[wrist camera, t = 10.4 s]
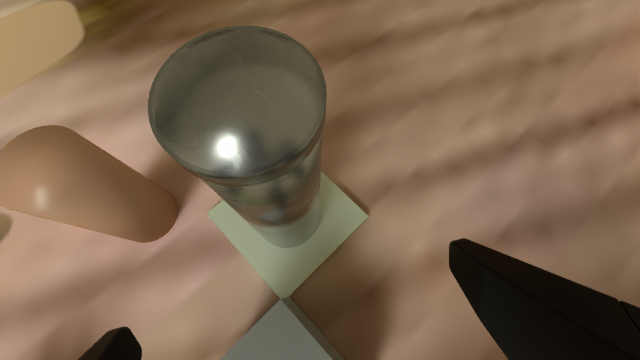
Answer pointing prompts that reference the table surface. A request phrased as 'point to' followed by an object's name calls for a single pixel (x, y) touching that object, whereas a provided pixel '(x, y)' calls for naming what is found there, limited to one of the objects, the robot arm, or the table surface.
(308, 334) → the unit
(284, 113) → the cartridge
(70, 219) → the terracotta cylinder
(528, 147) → the table surface
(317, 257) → the pad
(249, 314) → the table surface
